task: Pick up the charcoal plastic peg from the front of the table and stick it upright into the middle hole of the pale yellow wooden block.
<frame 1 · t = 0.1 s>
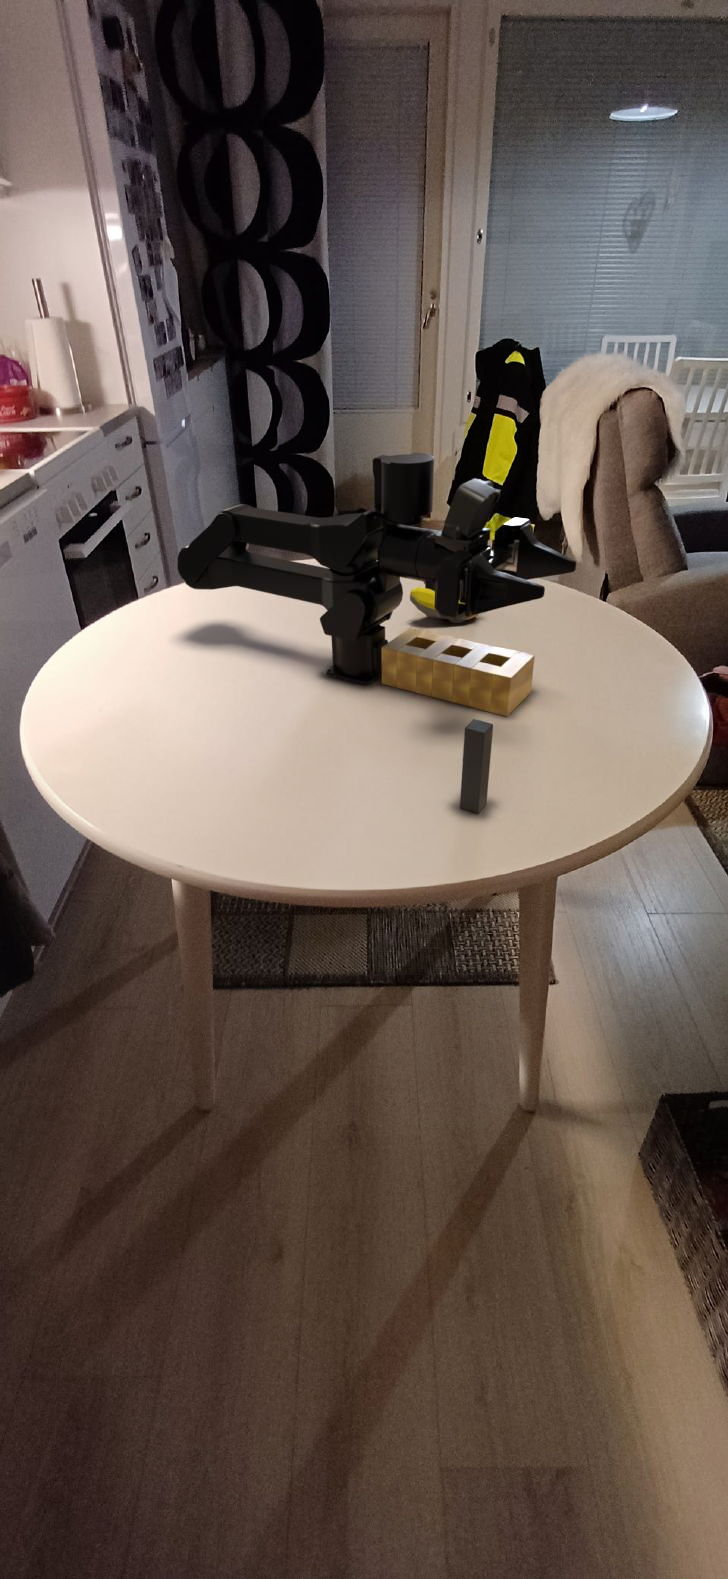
hand: (560, 579, 81), 17 cm above the table, tool horizontal, fingers open, 9 cm apart
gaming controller: (446, 611, 119), on the table
peg: (473, 805, 76), on the table
holder: (455, 688, 97), on the table
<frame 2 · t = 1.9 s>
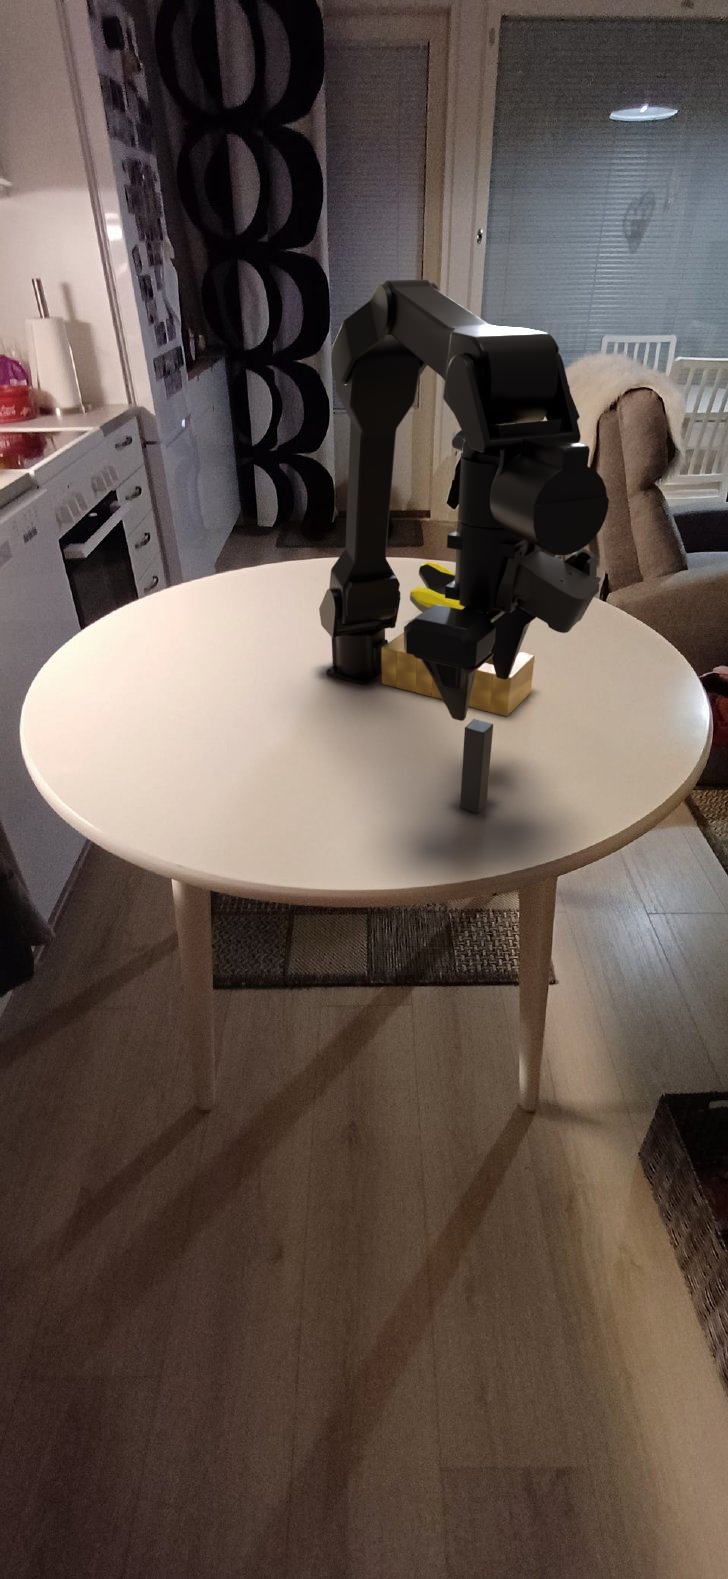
hand: (481, 697, 69), 12 cm above the table, tool pointing down, fingers open, 9 cm apart
nothing on the table moved.
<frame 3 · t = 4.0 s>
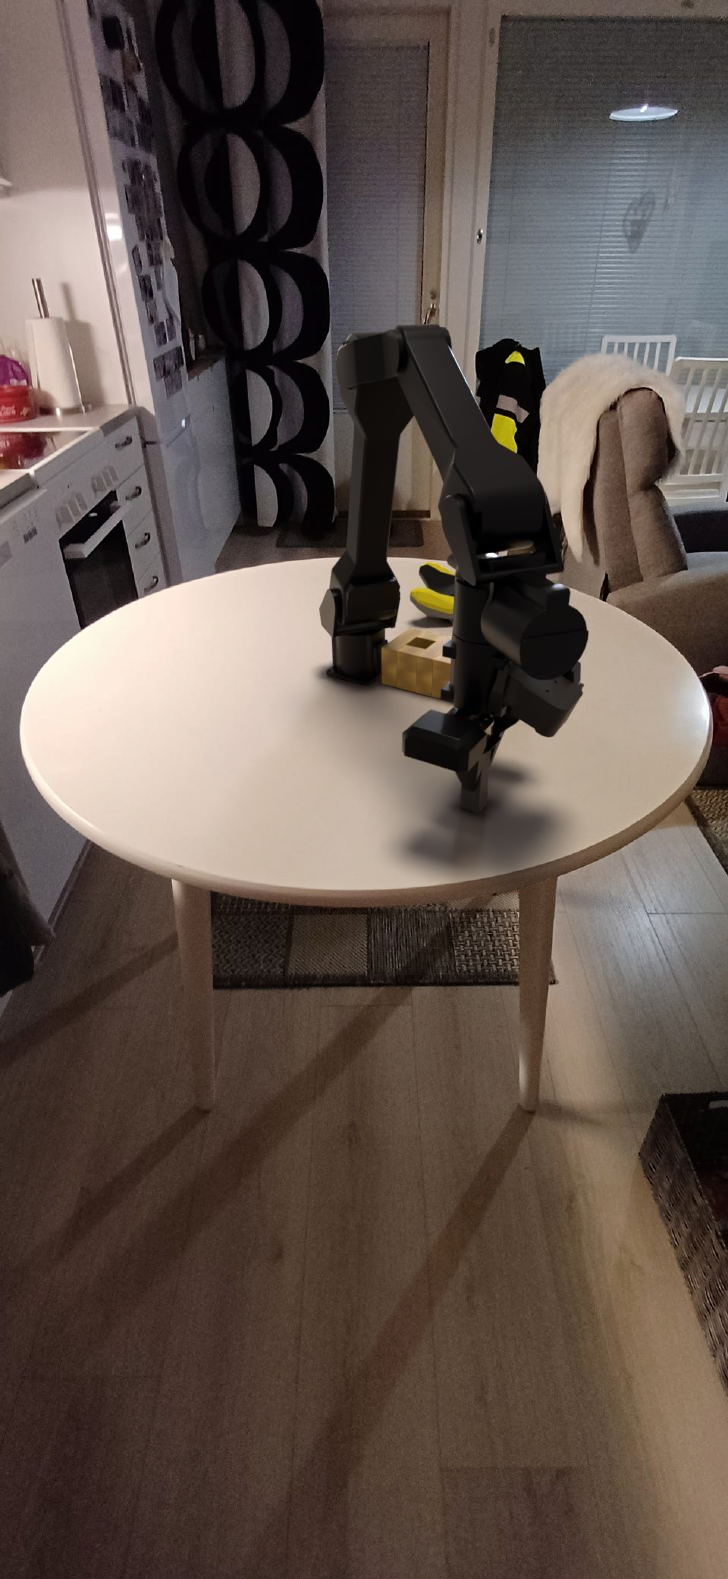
hand: (474, 784, 74), 3 cm above the table, tool pointing down, fingers closed on peg, 2 cm apart
peg: (473, 805, 76), on the table, touching gripper
everything else where it was.
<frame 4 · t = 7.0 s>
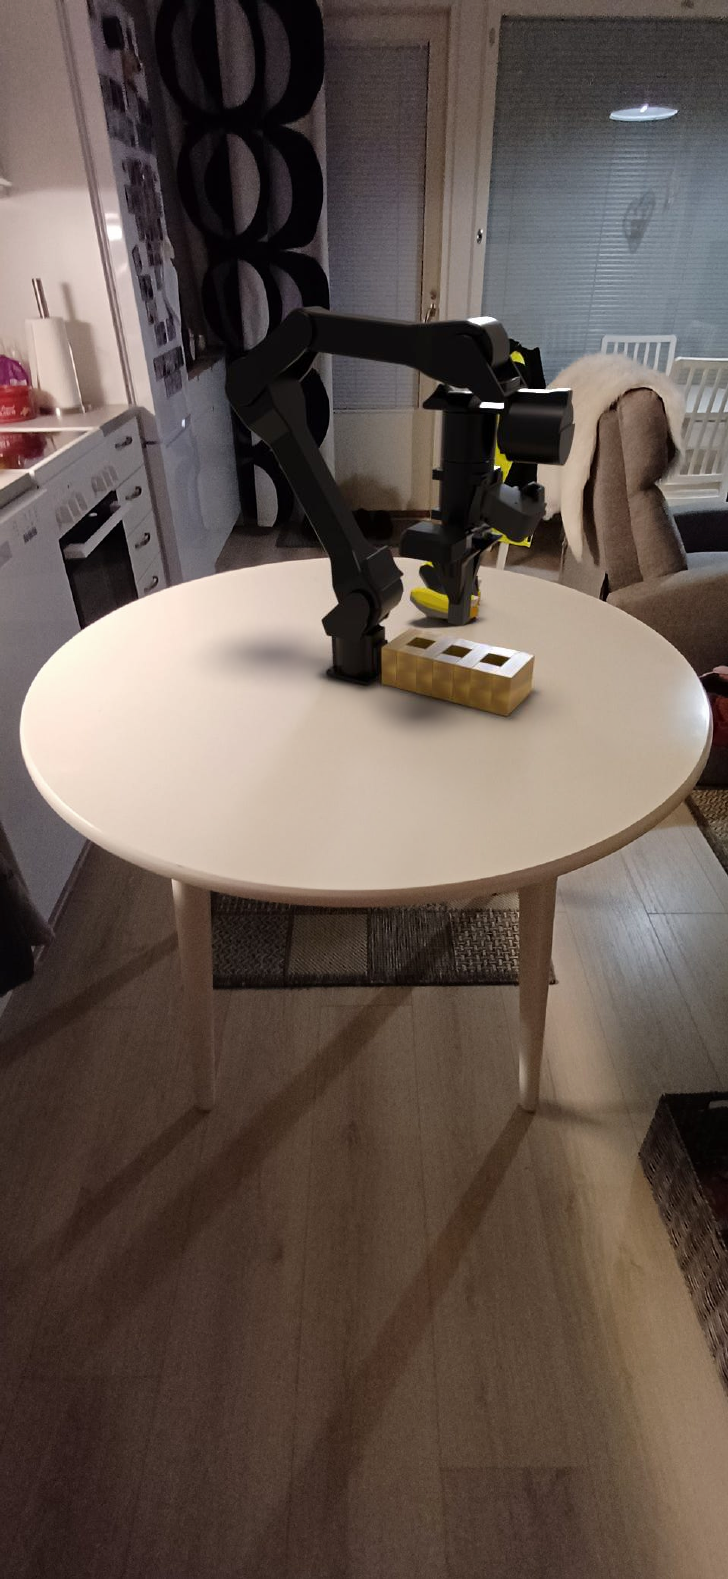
hand: (459, 601, 90), 12 cm above the table, tool pointing down, fingers closed on peg
peg: (458, 621, 91), point 9 cm above the table, touching gripper
everything else where it was.
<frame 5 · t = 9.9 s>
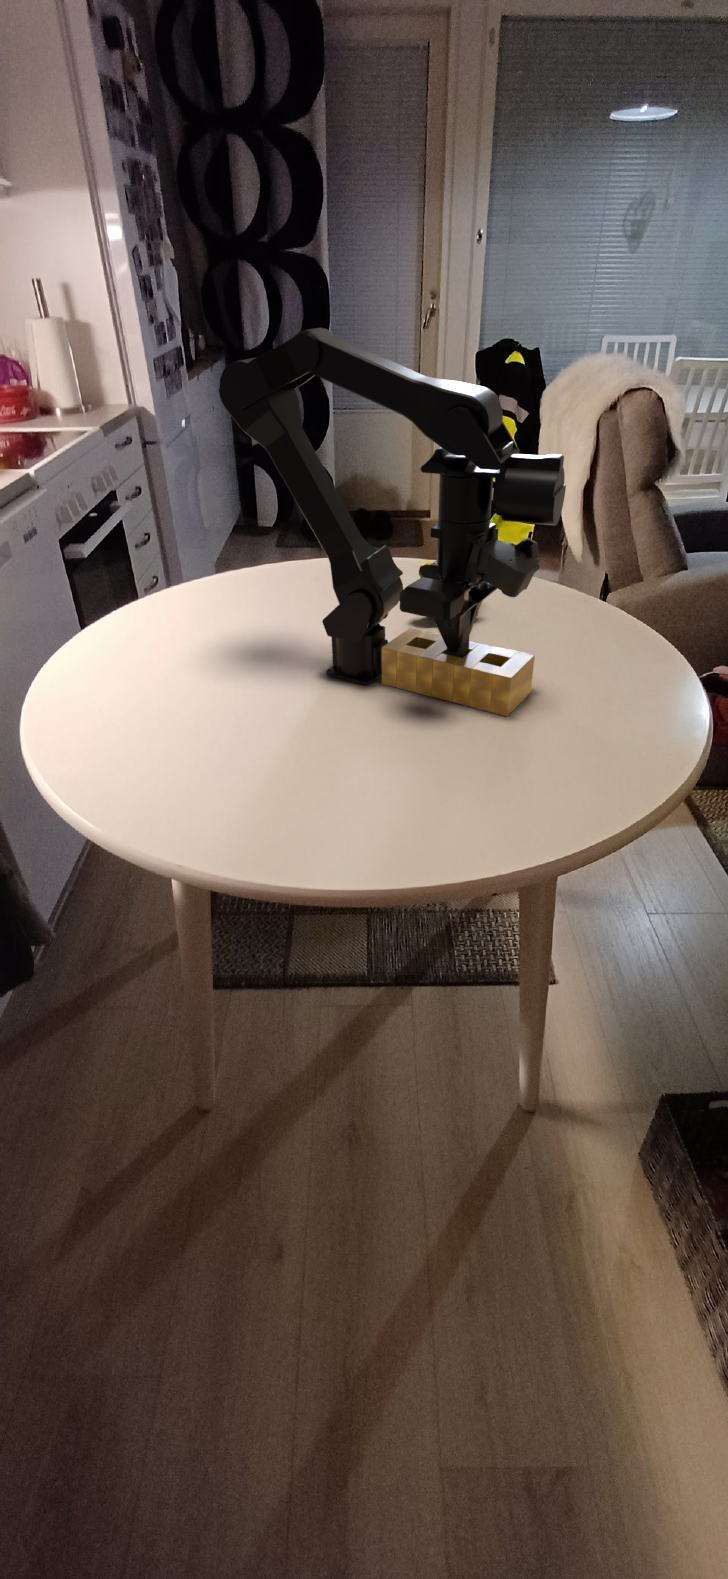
hand: (457, 648, 94), 5 cm above the table, tool pointing down, fingers closed on peg
peg: (456, 667, 95), point 3 cm above the table, touching gripper
everything else where it was.
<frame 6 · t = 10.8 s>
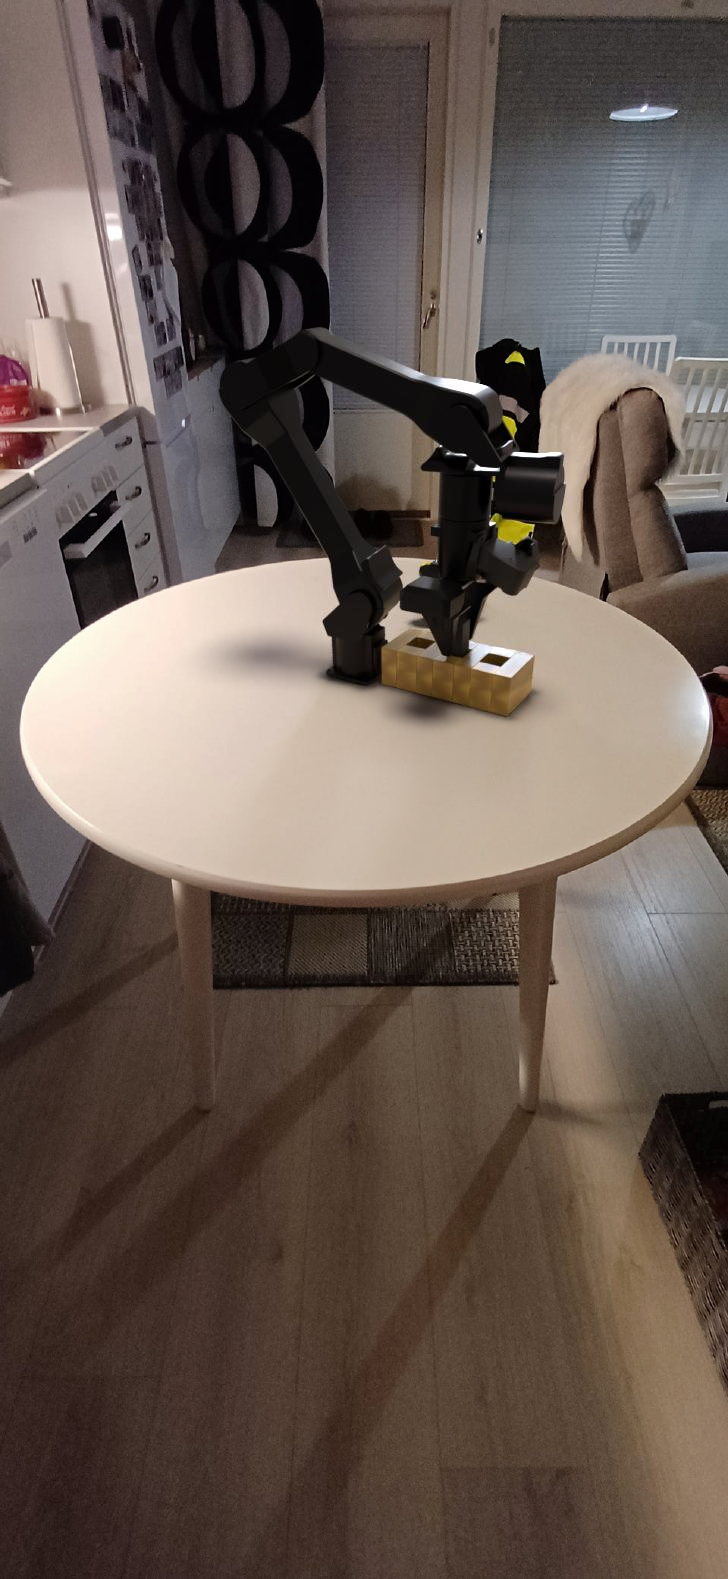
hand: (457, 647, 94), 5 cm above the table, tool pointing down, fingers open, 5 cm apart
peg: (455, 688, 97), resting in holder
everything else where it was.
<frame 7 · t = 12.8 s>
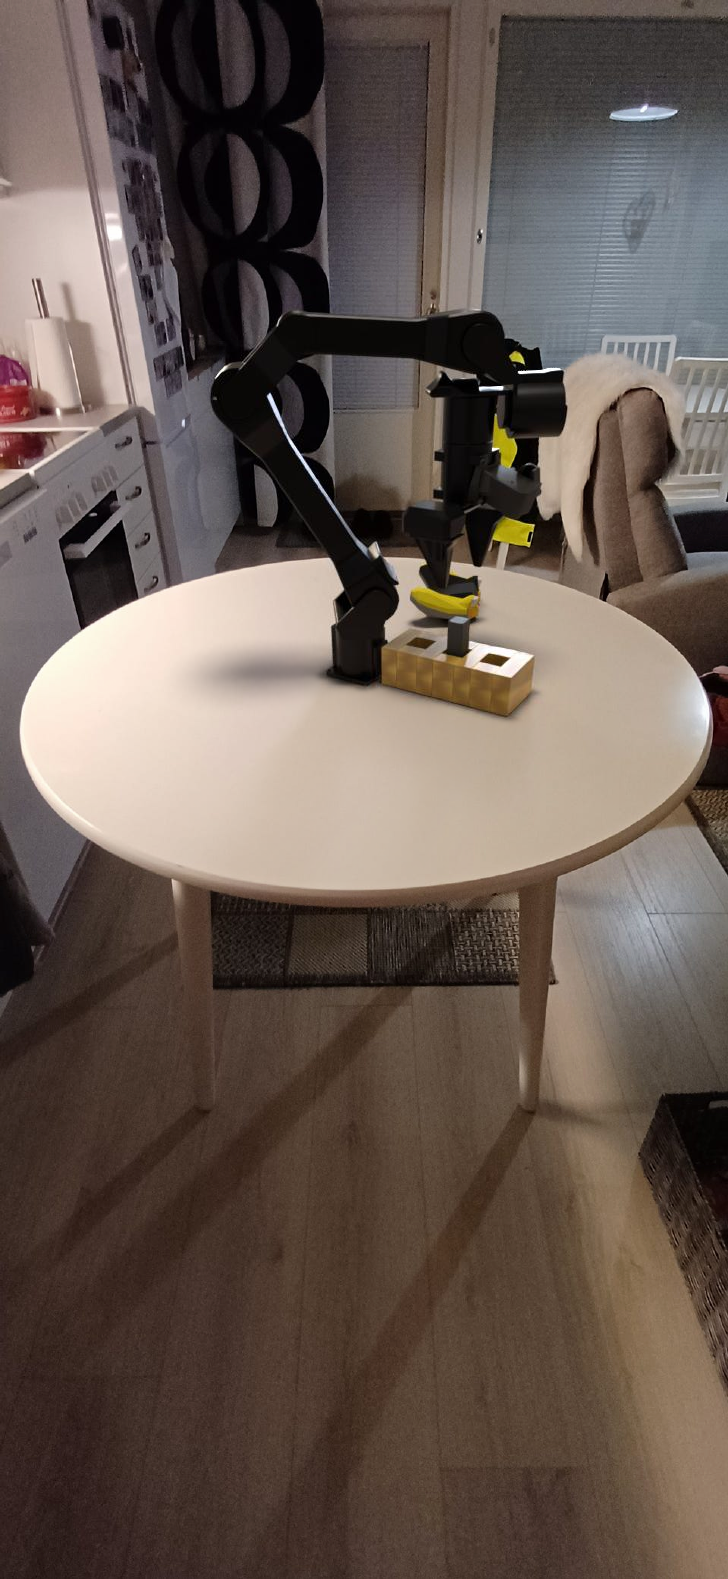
hand: (460, 577, 95), 12 cm above the table, tool pointing down, fingers open, 9 cm apart
nothing on the table moved.
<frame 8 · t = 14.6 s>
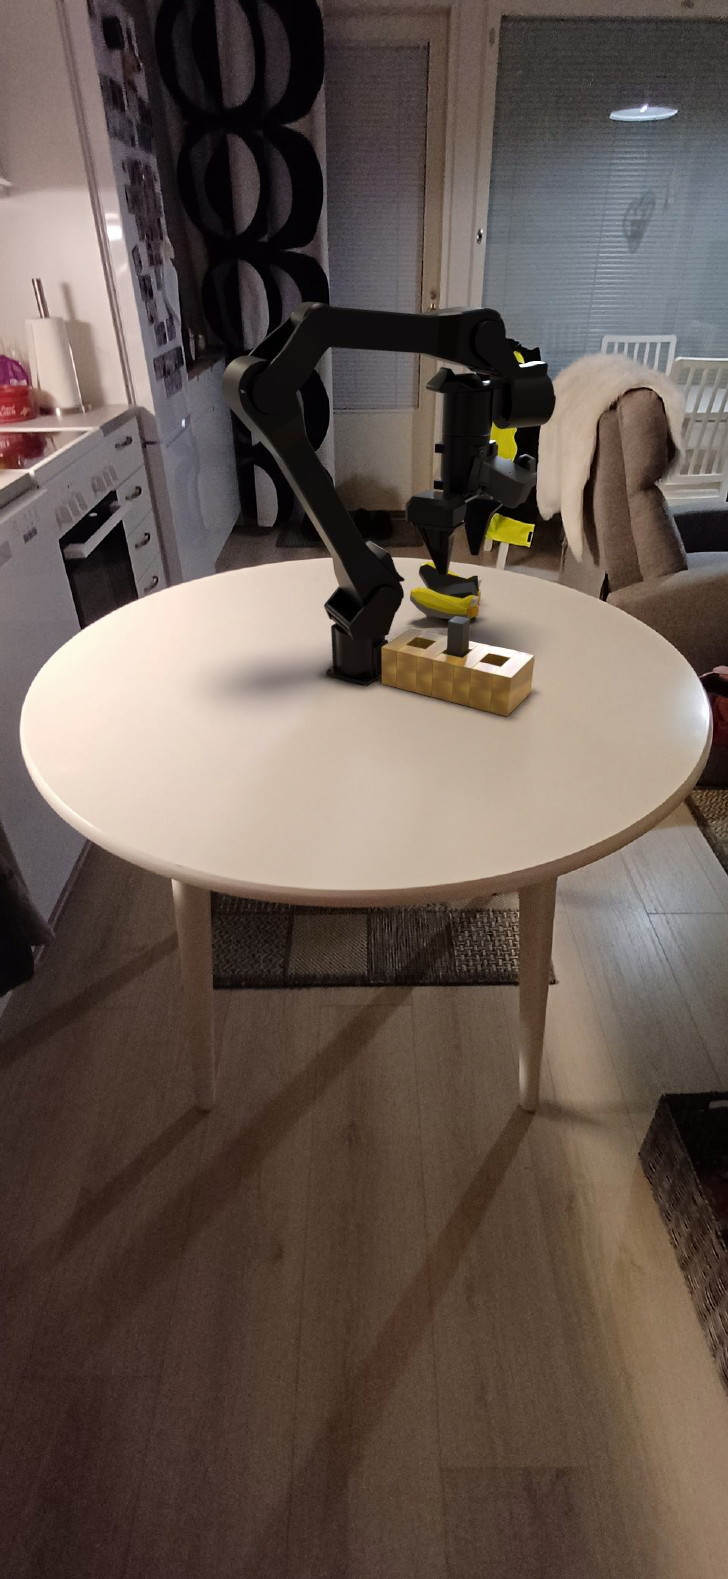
hand: (459, 564, 99), 12 cm above the table, tool pointing down, fingers open, 9 cm apart
nothing on the table moved.
at the end: peg 0.1 cm off-centre in the holder, point 0.0 cm above the holder's base; peg tilted 0°; the gripper is holding nothing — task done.
